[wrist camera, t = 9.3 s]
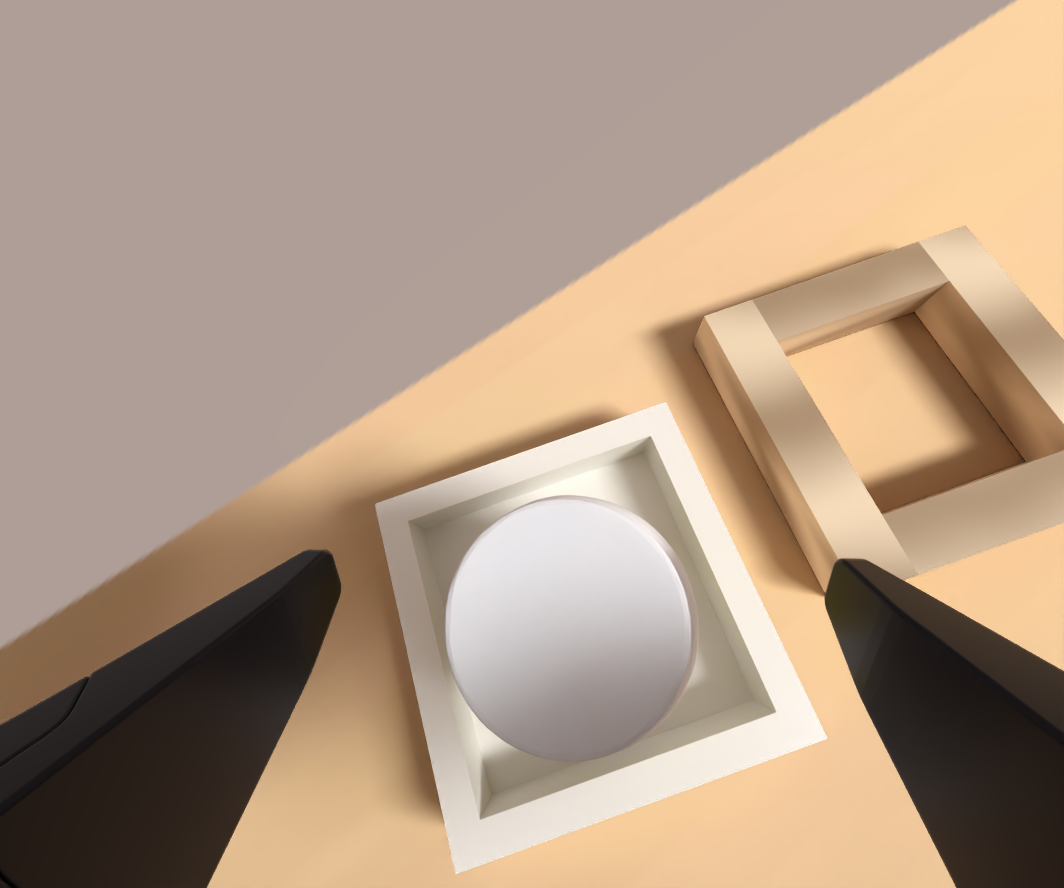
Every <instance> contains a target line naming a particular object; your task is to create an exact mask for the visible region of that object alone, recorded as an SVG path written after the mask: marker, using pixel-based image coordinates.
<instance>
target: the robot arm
mask: <svg viewBox="0 0 1064 888" xmlns="http://www.w3.org/2000/svg"><path fill="white" fill-rule="evenodd" d="M340 593H341V582H340V579H339V575H338V572H337V568H336V565H335V561H334V558H333V555H332V553H331V552H330V551H328V550H320V549H310V550H306V551H304V552H302V553H300V554H298V555H297V556H295V557H293V558H291V559H290V560H288V561H286V562H285V563H283V564H281V565H279V566H278V567H276V568H274V569H272V570H271V571H269V572H267V573H265V574H264V575H262V576H260V577H258V578H257V579H255V580H253V581H251V582H250V583H248V584H246V585H245V586H243V587H241V588H239V589H238V590H236V591H234V592H232V593H231V594H229V595H227V596H225V597H224V598H222V599H220V600H218V601H217V602H215V603H213V604H212V605H210V606H208V607H206V608H205V609H203V610H201V611H199V612H198V613H196V614H194V615H192V616H191V617H189V618H187V619H185V620H184V621H182V622H180V623H178V624H177V625H175V626H173V627H172V628H170V629H168V630H166V631H165V632H163V633H161V634H159V635H158V636H156V637H154V638H152V639H151V640H149V641H147V642H145V643H144V644H142V645H140V646H139V647H137V648H135V649H133V650H132V651H130V652H128V653H126V654H125V655H123V656H121V657H119V658H118V659H116V660H114V661H112V662H111V663H109V664H107V665H105V666H104V667H102V668H100V669H99V670H97V671H95V672H93V673H92V674H91V676H90V677H84V678H83V679H81V680H79V681H77V682H76V683H74V684H72V685H71V686H69V687H67V688H65V689H64V690H62V691H60V692H58V693H57V694H55V695H53V696H51V697H50V698H48V699H46V700H44V701H42V702H41V703H39V704H37V705H35V706H34V707H32V708H30V709H28V710H26V711H25V712H23V713H21V714H19V715H18V716H16V717H14V718H12V719H10V720H9V721H7V722H5V723H3V724H1V725H0V888H207V886H208V884H209V882H210V880H211V878H212V876H213V874H214V872H215V870H216V868H217V866H218V864H219V862H220V860H221V857H222V855H223V853H224V851H225V849H226V847H227V845H228V843H229V841H230V839H231V837H232V835H233V833H234V831H235V829H236V827H237V825H238V823H239V821H240V818H241V816H242V814H243V812H244V810H245V808H246V806H247V804H248V802H249V800H250V798H251V796H252V794H253V792H254V790H255V788H256V786H257V784H258V781H259V779H260V777H261V775H262V773H263V771H264V769H265V767H266V765H267V763H268V761H269V759H270V757H271V755H272V753H273V751H274V749H275V747H276V744H277V742H278V740H279V738H280V736H281V734H282V732H283V730H284V728H285V726H286V724H287V722H288V720H289V718H290V716H291V714H292V712H293V710H294V708H295V705H296V703H297V701H298V699H299V697H300V695H301V693H302V691H303V689H304V687H305V685H306V683H307V681H308V678H309V676H310V674H311V672H312V669H313V667H314V664H315V662H316V659H317V657H318V654H319V651H320V649H321V646H322V643H323V640H324V638H325V635H326V632H327V630H328V627H329V624H330V621H331V619H332V616H333V613H334V611H335V608H336V605H337V602H338V600H339V597H340ZM825 606H826V610H827V612H828V615H829V618H830V620H831V623H832V626H833V628H834V631H835V633H836V636H837V639H838V641H839V644H840V646H841V649H842V652H843V654H844V657H845V660H846V662H847V665H848V667H849V670H850V673H851V675H852V678H853V680H854V683H855V685H856V688H857V690H858V693H859V695H860V697H861V699H862V701H863V704H864V706H865V708H866V710H867V712H868V714H869V716H870V718H871V720H872V722H873V724H874V726H875V728H876V730H877V732H878V734H879V736H880V738H881V740H882V742H883V744H884V746H885V748H886V749H887V751H888V753H889V755H890V757H891V759H892V761H893V763H894V765H895V767H896V769H897V771H898V773H899V775H900V777H901V779H902V781H903V783H904V785H905V787H906V789H907V791H908V793H909V795H910V797H911V799H912V801H913V803H914V805H915V807H916V809H917V811H918V813H919V815H920V817H921V819H922V821H923V823H924V825H925V827H926V829H927V831H928V833H929V835H930V837H931V839H932V841H933V842H934V844H935V846H936V848H937V850H938V852H939V854H940V856H941V858H942V860H943V862H944V864H945V866H946V868H947V870H948V872H949V874H950V876H951V878H952V880H953V882H954V884H955V886H956V888H1064V671H1063V670H1061V669H1059V668H1057V667H1056V666H1054V665H1052V664H1050V663H1049V662H1047V661H1045V660H1043V659H1042V658H1040V657H1038V656H1036V655H1034V654H1033V653H1031V652H1029V651H1027V650H1026V649H1024V648H1022V647H1020V646H1019V645H1017V644H1015V643H1013V642H1011V641H1010V640H1008V639H1006V638H1004V637H1003V636H1001V635H999V634H997V633H996V632H994V631H992V630H990V629H988V628H987V627H985V626H983V625H981V624H980V623H978V622H976V621H974V620H973V619H971V618H969V617H967V616H965V615H964V614H962V613H960V612H958V611H957V610H955V609H953V608H951V607H950V606H948V605H946V604H944V603H942V602H941V601H939V600H937V599H935V598H934V597H932V596H930V595H928V594H927V593H925V592H923V591H921V590H919V589H918V588H916V587H914V586H912V585H911V584H909V583H907V582H905V581H904V580H902V579H900V578H898V577H896V576H895V575H893V574H891V573H889V572H888V571H886V570H884V569H882V568H881V567H879V566H877V565H875V564H873V563H872V562H870V561H868V560H866V559H861V558H840V559H838V560H836V562H835V563H834V565H833V568H832V572H831V575H830V579H829V582H828V586H827V589H826V592H825Z"/></svg>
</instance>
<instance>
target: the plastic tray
mask: <svg viewBox="0 0 1064 888" xmlns="http://www.w3.org/2000/svg"><path fill="white" fill-rule="evenodd" d="M559 495H576V496H586V497H592V498H597V499H601V500H605V501H608V502H611V503H614V504H617V505H619V506H621V507H623V508H626V509H627V510H629V511H631V512H633V513H634V514H636V515H637V516H639V517H641V518H642V519H644V520H645V521H646V522H647V523H649V524H650V525H651V526H652V527H653V528H654V529H655V530H656V531H657V532H659V533H660V534H661V536H662V537H663V538H664V539H665V540H666V541H667V543H668V544H669V545H670V546H671V548H672V549H673V550H674V552H675V553H676V555H677V557H678V558H679V560H680V561H681V563H682V565H683V567H684V569H685V571H686V573H687V576H688V578H689V581H690V584H691V586H692V590H693V594H694V598H695V602H696V606H697V613H698V647H697V655H696V660H695V664H694V668H693V671H692V675H691V678H690V680H689V682H688V685H687V687H686V689H685V691H684V693H683V695H682V697H681V699H680V700H679V702H678V703H677V705H676V707H675V708H674V710H673V711H672V712H671V714H670V715H669V716H668V717H667V719H666V720H665V721H664V722H663V723H662V724H661V725H660V726H659V727H658V728H657V729H655V730H654V731H653V732H652V733H651V734H649V735H648V736H647V737H645V738H644V739H642V740H641V741H639V742H638V743H636V744H634V745H632V746H630V747H629V748H626V749H624V750H621V751H619V752H616V753H614V754H611V755H609V756H606V757H602V758H599V759H593V760H587V761H580V762H561V761H554V760H547V759H543V758H540V757H536V756H533V755H531V754H528V753H525V752H522V751H520V750H518V749H516V748H514V747H513V746H511V745H509V744H507V743H506V742H504V741H503V740H502V739H500V738H499V737H498V736H497V735H495V734H494V733H493V732H492V731H490V730H489V729H488V728H487V727H486V726H485V725H484V724H483V723H482V722H481V721H480V720H479V719H478V718H477V716H476V715H475V714H474V712H473V711H472V710H471V709H470V707H469V706H468V705H467V703H466V701H465V699H464V698H463V696H462V694H461V692H460V691H459V688H458V686H457V684H456V682H455V679H454V677H453V674H452V671H451V668H450V664H449V660H448V656H447V652H446V646H445V637H444V615H445V608H446V601H447V597H448V593H449V589H450V586H451V583H452V580H453V577H454V575H455V572H456V570H457V568H458V566H459V564H460V562H461V560H462V558H463V557H464V555H465V554H466V552H467V551H468V549H469V548H470V546H471V545H472V544H473V542H474V541H475V540H476V539H477V538H478V537H479V535H480V534H481V533H482V532H483V531H484V530H485V529H486V528H488V527H489V526H490V525H491V524H492V523H494V522H495V521H496V520H498V519H499V518H501V517H502V516H504V515H505V514H507V513H509V512H511V511H512V510H514V509H516V508H518V507H520V506H522V505H525V504H527V503H529V502H532V501H535V500H538V499H542V498H546V497H552V496H559ZM375 508H376V513H377V517H378V522H379V527H380V531H381V536H382V540H383V545H384V549H385V554H386V558H387V563H388V568H389V572H390V577H391V581H392V586H393V590H394V595H395V600H396V604H397V609H398V613H399V618H400V622H401V627H402V632H403V636H404V641H405V645H406V650H407V654H408V659H409V663H410V668H411V673H412V677H413V682H414V686H415V691H416V695H417V700H418V705H419V709H420V714H421V718H422V723H423V727H424V732H425V737H426V741H427V746H428V750H429V755H430V759H431V764H432V768H433V773H434V778H435V782H436V787H437V791H438V796H439V800H440V805H441V810H442V814H443V819H444V823H445V828H446V832H447V837H448V841H449V846H450V851H451V855H452V860H453V864H454V869H455V873H456V874H458V873H461V872H463V871H466V870H469V869H472V868H474V867H477V866H480V865H483V864H485V863H488V862H491V861H493V860H496V859H499V858H502V857H504V856H507V855H510V854H513V853H515V852H518V851H521V850H524V849H526V848H529V847H532V846H535V845H537V844H540V843H543V842H546V841H548V840H551V839H554V838H557V837H559V836H562V835H565V834H568V833H570V832H573V831H576V830H579V829H581V828H584V827H587V826H589V825H592V824H595V823H598V822H600V821H603V820H606V819H609V818H611V817H614V816H617V815H620V814H622V813H625V812H628V811H631V810H633V809H636V808H639V807H642V806H644V805H647V804H650V803H653V802H655V801H658V800H661V799H664V798H666V797H669V796H672V795H675V794H677V793H680V792H683V791H685V790H688V789H691V788H694V787H696V786H699V785H702V784H705V783H707V782H710V781H713V780H716V779H718V778H721V777H724V776H727V775H729V774H732V773H735V772H738V771H740V770H743V769H746V768H749V767H751V766H754V765H757V764H760V763H762V762H765V761H768V760H771V759H773V758H776V757H779V756H781V755H784V754H787V753H790V752H792V751H795V750H798V749H801V748H803V747H806V746H809V745H812V744H814V743H817V742H820V741H823V740H825V739H828V738H827V736H826V734H825V732H824V730H823V728H822V726H821V724H820V722H819V720H818V718H817V716H816V713H815V711H814V709H813V707H812V705H811V703H810V701H809V699H808V697H807V695H806V693H805V691H804V688H803V686H802V684H801V682H800V680H799V678H798V676H797V674H796V672H795V670H794V668H793V666H792V664H791V661H790V659H789V657H788V655H787V653H786V651H785V649H784V647H783V645H782V643H781V641H780V639H779V636H778V634H777V632H776V630H775V628H774V626H773V624H772V622H771V620H770V618H769V616H768V614H767V611H766V609H765V607H764V605H763V603H762V601H761V599H760V597H759V595H758V593H757V591H756V589H755V586H754V584H753V582H752V580H751V578H750V576H749V574H748V572H747V570H746V568H745V566H744V564H743V562H742V559H741V557H740V555H739V553H738V551H737V549H736V547H735V545H734V543H733V541H732V539H731V537H730V534H729V532H728V530H727V528H726V526H725V524H724V522H723V520H722V518H721V516H720V514H719V512H718V509H717V507H716V505H715V503H714V501H713V499H712V497H711V495H710V493H709V491H708V489H707V487H706V484H705V482H704V480H703V478H702V476H701V474H700V472H699V470H698V468H697V466H696V464H695V462H694V460H693V457H692V455H691V453H690V451H689V449H688V447H687V445H686V443H685V441H684V439H683V437H682V435H681V432H680V430H679V428H678V426H677V424H676V422H675V420H674V418H673V416H672V414H671V412H670V410H669V407H668V405H667V403H666V402H664V403H661V404H658V405H656V406H653V407H650V408H647V409H644V410H641V411H638V412H636V413H633V414H630V415H627V416H624V417H621V418H618V419H616V420H613V421H610V422H607V423H604V424H601V425H598V426H596V427H593V428H590V429H587V430H584V431H581V432H578V433H576V434H573V435H570V436H567V437H564V438H561V439H558V440H556V441H553V442H550V443H547V444H544V445H541V446H538V447H536V448H533V449H530V450H527V451H524V452H521V453H518V454H516V455H513V456H510V457H507V458H504V459H501V460H498V461H496V462H493V463H490V464H487V465H484V466H481V467H478V468H476V469H473V470H470V471H467V472H464V473H461V474H458V475H456V476H453V477H450V478H447V479H444V480H441V481H438V482H436V483H433V484H430V485H427V486H424V487H421V488H418V489H416V490H413V491H410V492H407V493H404V494H401V495H398V496H396V497H393V498H390V499H387V500H384V501H381V502H378V503H376V504H375Z"/></svg>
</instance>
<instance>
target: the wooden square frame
mask: <svg viewBox="0 0 1064 888" xmlns="http://www.w3.org/2000/svg"><path fill="white" fill-rule="evenodd" d="M912 312H915V313H916V315H917V316H918V317H919V319H920V320H921V321H922V323H923V324H924V325H925V327H926V328H927V329H928V331H929V332H930V333H931V335H932V336H933V337H934V339H935V340H936V341H937V343H938V344H939V346H940V347H941V348H942V350H943V351H944V352H945V354H946V355H947V356H948V358H949V359H950V360H951V362H952V363H953V364H954V366H955V367H956V368H957V370H958V371H959V372H960V374H961V375H962V376H963V378H964V379H965V380H966V382H967V383H968V385H969V386H970V387H971V389H972V390H973V391H974V393H975V394H976V395H977V397H978V398H979V399H980V401H981V402H982V403H983V405H984V406H985V407H986V409H987V410H988V411H989V413H990V414H991V415H992V417H993V418H994V420H995V421H996V422H997V424H998V425H999V426H1000V428H1001V429H1002V430H1003V432H1004V433H1005V434H1006V436H1007V437H1008V438H1009V440H1010V441H1011V442H1012V444H1013V445H1014V446H1015V448H1016V449H1017V450H1018V452H1019V453H1020V454H1021V456H1022V457H1023V459H1024V460H1025V461H1026V462H1024V463H1021V464H1019V465H1016V466H1013V467H1010V468H1007V469H1004V470H1002V471H999V472H996V473H993V474H990V475H988V476H985V477H982V478H979V479H976V480H974V481H971V482H968V483H965V484H962V485H960V486H957V487H954V488H951V489H948V490H946V491H943V492H940V493H937V494H934V495H932V496H929V497H926V498H923V499H920V500H918V501H915V502H912V503H909V504H906V505H904V506H901V507H898V508H895V509H892V510H890V511H887V512H884V513H881V512H880V511H879V509H878V507H877V506H876V504H875V502H874V501H873V499H872V497H871V496H870V494H869V492H868V491H867V489H866V487H865V486H864V484H863V482H862V481H861V479H860V477H859V476H858V474H857V473H856V471H855V469H854V468H853V466H852V464H851V463H850V461H849V459H848V458H847V456H846V454H845V453H844V451H843V449H842V448H841V446H840V444H839V443H838V441H837V439H836V438H835V436H834V434H833V433H832V431H831V429H830V428H829V426H828V424H827V423H826V421H825V420H824V418H823V416H822V415H821V413H820V411H819V410H818V408H817V406H816V405H815V403H814V401H813V400H812V398H811V396H810V395H809V393H808V391H807V390H806V388H805V386H804V385H803V383H802V381H801V380H800V378H799V376H798V375H797V373H796V371H795V370H794V368H793V367H792V365H791V363H790V362H789V360H788V358H787V356H789V355H792V354H795V353H798V352H801V351H804V350H807V349H809V348H812V347H815V346H818V345H821V344H824V343H827V342H829V341H832V340H835V339H838V338H841V337H844V336H847V335H849V334H852V333H855V332H858V331H861V330H864V329H867V328H869V327H872V326H875V325H878V324H881V323H884V322H887V321H889V320H892V319H895V318H898V317H901V316H904V315H907V314H909V313H912ZM693 345H694V346H695V348H696V350H697V352H698V354H699V356H700V358H701V360H702V362H703V363H704V365H705V367H706V369H707V371H708V373H709V375H710V377H711V379H712V380H713V382H714V384H715V386H716V388H717V390H718V392H719V394H720V396H721V397H722V399H723V401H724V403H725V405H726V407H727V409H728V411H729V413H730V415H731V416H732V418H733V420H734V422H735V424H736V426H737V428H738V430H739V432H740V433H741V435H742V437H743V439H744V441H745V443H746V445H747V447H748V449H749V450H750V452H751V454H752V456H753V458H754V460H755V462H756V464H757V466H758V467H759V469H760V471H761V473H762V475H763V477H764V479H765V481H766V483H767V485H768V486H769V488H770V490H771V492H772V494H773V496H774V498H775V500H776V502H777V503H778V505H779V507H780V509H781V511H782V513H783V515H784V517H785V519H786V520H787V522H788V524H789V526H790V528H791V530H792V532H793V534H794V536H795V537H796V539H797V541H798V543H799V545H800V547H801V549H802V551H803V553H804V554H805V556H806V558H807V560H808V562H809V564H810V566H811V568H812V570H813V572H814V573H815V575H816V577H817V579H818V581H819V583H820V585H821V587H822V589H823V590H824V592H826V589H827V586H828V582H829V579H830V575H831V572H832V568H833V565H834V563H835V562H836V560H838V559H840V558H861V559H866V560H868V561H870V562H872V563H873V564H875V565H877V566H879V567H881V568H882V569H884V570H886V571H888V572H889V573H891V574H893V575H895V576H896V577H898V578H900V579H902V580H906V579H908V578H911V577H914V576H917V575H919V574H922V573H925V572H928V571H931V570H933V569H936V568H939V567H942V566H945V565H947V564H950V563H953V562H956V561H958V560H961V559H964V558H967V557H970V556H972V555H975V554H978V553H981V552H983V551H986V550H989V549H992V548H995V547H997V546H1000V545H1003V544H1006V543H1008V542H1011V541H1014V540H1017V539H1020V538H1022V537H1025V536H1028V535H1031V534H1033V533H1036V532H1039V531H1042V530H1045V529H1047V528H1050V527H1053V526H1056V525H1058V524H1061V523H1064V340H1063V339H1062V338H1061V336H1060V335H1059V334H1058V333H1057V332H1056V331H1055V329H1054V328H1053V327H1052V326H1051V325H1050V323H1049V322H1048V321H1047V320H1046V319H1045V318H1044V316H1043V315H1042V314H1041V313H1040V312H1039V311H1038V309H1037V308H1036V307H1035V306H1034V305H1033V304H1032V302H1031V301H1030V300H1029V299H1028V298H1027V297H1026V295H1025V294H1024V293H1023V292H1022V291H1021V290H1020V288H1019V287H1018V286H1017V285H1016V284H1015V283H1014V281H1013V280H1012V279H1011V278H1010V277H1009V276H1008V274H1007V273H1006V272H1005V271H1004V270H1003V269H1002V267H1001V266H1000V265H999V264H998V263H997V262H996V260H995V259H994V258H993V257H992V256H991V255H990V253H989V252H988V251H987V250H986V249H985V248H984V246H983V245H982V244H981V243H980V242H979V241H978V239H977V238H976V237H975V236H974V235H973V234H972V232H971V231H970V230H969V229H968V228H967V227H966V225H965V226H962V227H959V228H956V229H954V230H951V231H948V232H945V233H942V234H939V235H936V236H933V237H931V238H928V239H925V240H922V241H919V242H916V243H913V244H910V245H908V246H905V247H902V248H899V249H896V250H893V251H890V252H887V253H884V254H882V255H879V256H876V257H873V258H870V259H867V260H864V261H861V262H859V263H856V264H853V265H850V266H847V267H844V268H841V269H838V270H836V271H833V272H830V273H827V274H824V275H821V276H818V277H815V278H813V279H810V280H807V281H804V282H801V283H798V284H795V285H792V286H789V287H787V288H784V289H781V290H778V291H775V292H772V293H769V294H766V295H764V296H761V297H758V298H755V299H752V300H749V301H746V302H743V303H741V304H738V305H735V306H732V307H729V308H726V309H723V310H720V311H717V312H715V313H712V314H709V315H706V316H704V318H703V320H702V322H701V325H700V327H699V329H698V332H697V334H696V336H695V339H694V341H693Z"/></svg>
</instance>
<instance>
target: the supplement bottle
mask: <svg viewBox="0 0 1064 888" xmlns="http://www.w3.org/2000/svg"><path fill="white" fill-rule="evenodd" d="M444 637H445V646H446V652H447V656H448V660H449V664H450V668H451V671H452V674H453V677H454V679H455V682H456V684H457V686H458V688H459V691H460V692H461V694H462V696H463V698H464V699H465V701H466V703H467V705H468V706H469V707H470V709H471V710H472V711H473V712H474V714H475V715H476V716H477V718H478V719H479V720H480V721H481V722H482V723H483V724H484V725H485V726H486V727H487V728H488V729H489V730H490V731H492V732H493V733H494V734H495V735H497V736H498V737H499V738H500V739H502V740H503V741H504V742H506V743H507V744H509V745H511V746H513V747H514V748H516V749H518V750H520V751H522V752H525V753H528V754H531V755H533V756H536V757H540V758H543V759H547V760H554V761H561V762H580V761H587V760H593V759H599V758H602V757H606V756H609V755H611V754H614V753H616V752H619V751H621V750H624V749H626V748H629V747H630V746H632V745H634V744H636V743H638V742H639V741H641V740H642V739H644V738H645V737H647V736H648V735H649V734H651V733H652V732H653V731H654V730H655V729H657V728H658V727H659V726H660V725H661V724H662V723H663V722H664V721H665V720H666V719H667V717H668V716H669V715H670V714H671V712H672V711H673V710H674V708H675V707H676V705H677V703H678V702H679V700H680V699H681V697H682V695H683V693H684V691H685V689H686V687H687V685H688V682H689V680H690V678H691V675H692V671H693V668H694V664H695V660H696V655H697V647H698V613H697V606H696V602H695V598H694V594H693V590H692V586H691V584H690V581H689V578H688V576H687V573H686V571H685V569H684V567H683V565H682V563H681V561H680V560H679V558H678V557H677V555H676V553H675V552H674V550H673V549H672V548H671V546H670V545H669V544H668V543H667V541H666V540H665V539H664V538H663V537H662V536H661V534H660V533H659V532H657V531H656V530H655V529H654V528H653V527H652V526H651V525H650V524H649V523H647V522H646V521H645V520H644V519H642V518H641V517H639V516H637V515H636V514H634V513H633V512H631V511H629V510H627V509H626V508H623V507H621V506H619V505H617V504H614V503H611V502H608V501H605V500H601V499H597V498H592V497H586V496H576V495H559V496H552V497H546V498H542V499H538V500H535V501H532V502H529V503H527V504H525V505H522V506H520V507H518V508H516V509H514V510H512V511H511V512H509V513H507V514H505V515H504V516H502V517H501V518H499V519H498V520H496V521H495V522H494V523H492V524H491V525H490V526H489V527H488V528H486V529H485V530H484V531H483V532H482V533H481V534H480V535H479V537H478V538H477V539H476V540H475V541H474V542H473V544H472V545H471V546H470V548H469V549H468V551H467V552H466V554H465V555H464V557H463V558H462V560H461V562H460V564H459V566H458V568H457V570H456V572H455V575H454V577H453V580H452V583H451V586H450V589H449V593H448V597H447V601H446V608H445V615H444Z"/></svg>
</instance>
